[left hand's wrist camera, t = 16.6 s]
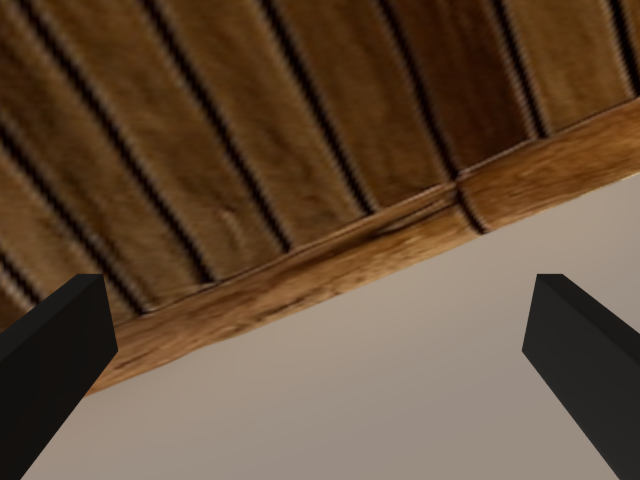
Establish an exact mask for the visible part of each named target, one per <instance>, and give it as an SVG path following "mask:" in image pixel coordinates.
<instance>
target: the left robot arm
mask: <svg viewBox="0 0 640 480" xmlns="http://www.w3.org/2000/svg"><path fill="white" fill-rule="evenodd" d="M117 352H118V347H117V342H116V337H115V332H114V327H113V322H112V317H111V312H110V307H109V302H108V297H107V292H106V287H105V282H104V277H103V274H77V275H76V276H74V277H73V278H72V279H70V280H69V281H68V282H67V283H65V284H64V285H63V286H61V287H60V288H59V289H57V290H56V291H55V292H54V293H52V294H51V295H50V296H48V297H47V298H46V299H45V300H43V301H42V302H41V303H39V304H38V305H37V306H36V307H34V308H33V309H32V310H30V311H29V312H28V313H27V314H25V315H24V316H23V317H21V318H20V319H19V320H18V321H16V322H15V323H14V324H12V325H11V326H10V327H8V328H7V329H6V330H5V331H3V332H2V333H1V334H0V480H20V479H21V478H22V477H23V476H24V474H25V473H26V472H27V470H28V469H29V468H30V466H31V465H32V464H33V462H34V461H35V460H36V458H37V457H38V456H39V454H40V453H41V452H42V451H43V449H44V448H45V447H46V445H47V444H48V443H49V441H50V440H51V439H52V437H53V436H54V435H55V433H56V432H57V431H58V430H59V428H60V427H61V426H62V424H63V423H64V422H65V420H66V419H67V418H68V416H69V415H70V414H71V412H72V411H73V410H74V409H75V407H76V406H77V405H78V403H79V402H80V401H81V399H82V398H83V397H84V395H85V394H86V393H87V391H88V390H89V389H90V387H91V386H92V385H93V384H94V382H95V381H96V380H97V378H98V377H99V376H100V374H101V373H102V372H103V370H104V369H105V368H106V366H107V365H108V364H109V363H110V361H111V360H112V359H113V357H114V356H115V355H116V353H117ZM522 352H523V353H524V355H525V356H526V357H527V359H528V360H529V361H530V362H531V364H532V365H533V366H534V368H535V369H536V370H537V372H538V373H539V374H540V376H541V377H542V378H543V380H544V381H545V382H546V384H547V385H548V386H549V387H550V389H551V390H552V391H553V393H554V394H555V395H556V397H557V398H558V399H559V401H560V402H561V403H562V405H563V406H564V407H565V408H566V410H567V411H568V412H569V414H570V415H571V416H572V418H573V419H574V420H575V422H576V423H577V424H578V426H579V427H580V428H581V430H582V431H583V432H584V433H585V435H586V436H587V437H588V439H589V440H590V441H591V443H592V444H593V445H594V447H595V448H596V449H597V451H598V452H599V453H600V454H601V456H602V457H603V458H604V460H605V461H606V462H607V464H608V465H609V466H610V468H611V469H612V470H613V471H614V473H615V474H616V476H617V477H618V478H619V479H620V480H640V334H639V333H638V332H637V331H635V330H634V329H633V328H632V327H630V326H629V325H628V324H626V323H625V322H624V321H622V320H621V319H620V318H619V317H617V316H616V315H615V314H613V313H612V312H611V311H610V310H608V309H607V308H606V307H604V306H603V305H602V304H601V303H599V302H598V301H597V300H595V299H594V298H593V297H592V296H590V295H589V294H588V293H586V292H585V291H584V290H582V289H581V288H580V287H579V286H577V285H576V284H575V283H573V282H572V281H571V280H569V279H568V278H567V277H566V276H564V275H563V274H537V277H536V282H535V287H534V292H533V297H532V302H531V307H530V312H529V317H528V322H527V327H526V333H525V337H524V342H523V347H522Z"/></svg>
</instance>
